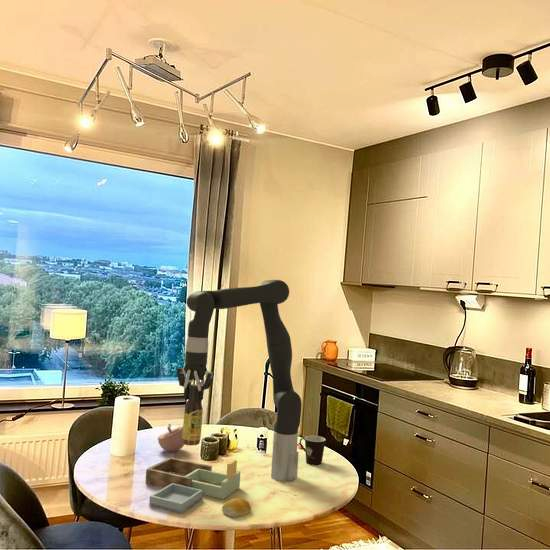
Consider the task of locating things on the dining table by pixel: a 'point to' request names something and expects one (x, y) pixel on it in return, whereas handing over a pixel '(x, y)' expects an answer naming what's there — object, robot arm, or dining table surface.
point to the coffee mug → (314, 449)
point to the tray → (176, 498)
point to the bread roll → (236, 507)
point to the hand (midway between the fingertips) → (193, 400)
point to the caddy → (217, 481)
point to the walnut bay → (163, 478)
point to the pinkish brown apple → (171, 439)
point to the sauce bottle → (192, 418)
